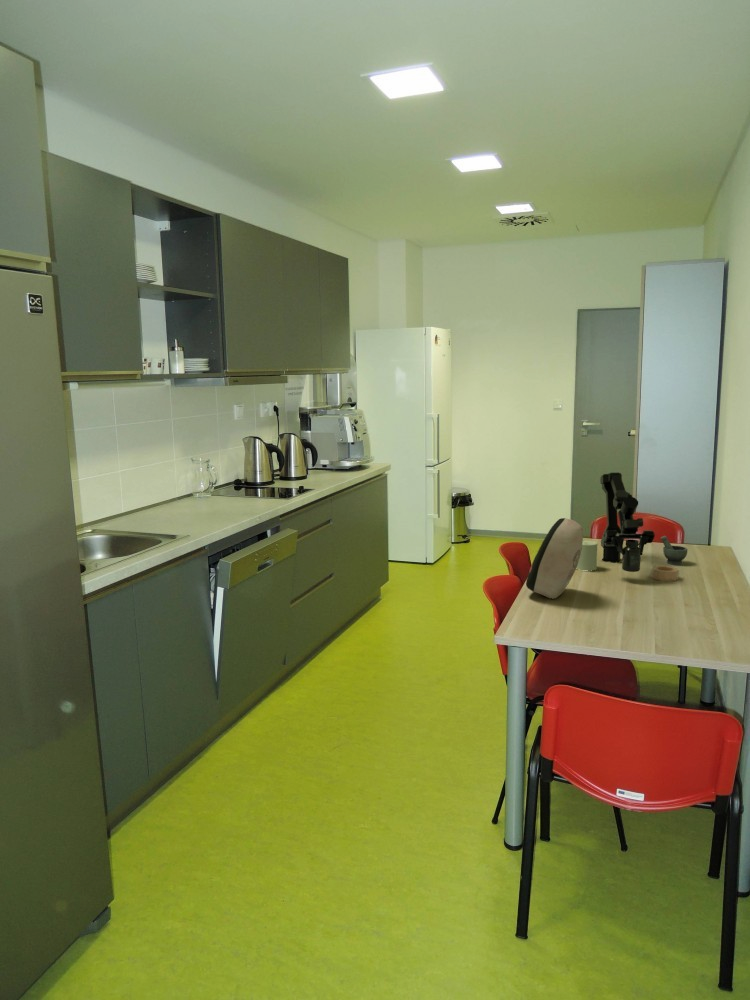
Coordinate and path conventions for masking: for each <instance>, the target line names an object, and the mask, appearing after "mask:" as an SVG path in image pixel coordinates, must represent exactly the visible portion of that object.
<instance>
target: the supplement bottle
mask: <svg viewBox="0 0 750 1000" xmlns="http://www.w3.org/2000/svg"><path fill="white" fill-rule="evenodd" d="M639 542H640V540H639V539H625V546H623V550H624V555H622V561H621V569H622V571H624V572H629V573H636V572H639V571H640V570H641V560H642V559H641V558H642V555H641V549H640V548H639Z"/></svg>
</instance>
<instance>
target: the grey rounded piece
mask: <svg viewBox="0 0 750 1000" xmlns="http://www.w3.org/2000/svg"><path fill="white" fill-rule="evenodd" d="M583 539H584V529H583V526H582V525H581V524H579V523H578V522H577V521H576V520H573V519H571V518H566V517H564V518H559V519H557V521H555V523H554V524H552V526H551V527H550V529H549V531H548V532H547V534H546V536H545V537H544V539H543V540H542V543H541V544H540V546H539V548H538V550H537V551H536V554H535V556H534V558H533V561H532V563H531V565H530V568H529V571H528V574H527V578H526V582H525V586H526V588H527V589H529V590H530V591H532V592H533V593H537V594H539V595H542V596H544V597H546V598H548V599H551V598H552V600H555V599H556V598H558V597H559V596H560V595H562V594H563V592H564V591H565V590H566V588H567V587H568V585H569V583H570V581H571V580H572V578H573V576H574V574H575V573H576V568H577V565H578V562H579V559H580V555H581V550H582V543H583ZM554 598H555V599H554Z"/></svg>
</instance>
